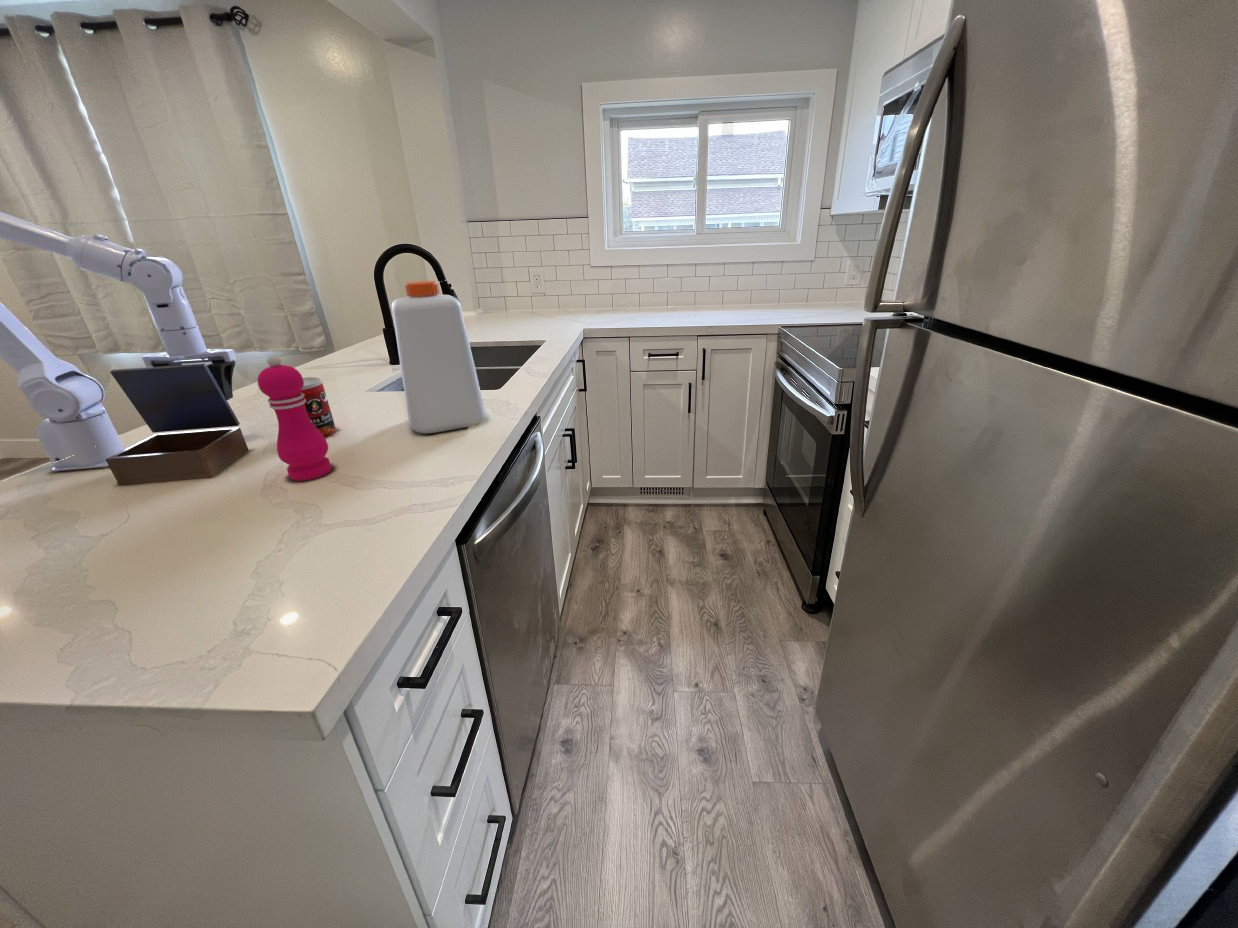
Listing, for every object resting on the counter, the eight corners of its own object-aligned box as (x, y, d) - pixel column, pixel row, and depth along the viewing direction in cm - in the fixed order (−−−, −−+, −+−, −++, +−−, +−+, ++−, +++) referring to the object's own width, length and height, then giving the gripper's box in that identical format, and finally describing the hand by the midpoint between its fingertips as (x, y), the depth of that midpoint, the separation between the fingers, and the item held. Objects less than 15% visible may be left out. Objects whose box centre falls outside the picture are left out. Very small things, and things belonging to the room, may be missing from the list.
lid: (203, 365, 85) (216, 353, 88) (109, 371, 83) (126, 359, 87) (238, 426, 93) (249, 413, 96) (152, 432, 91) (166, 419, 94)
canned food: (304, 444, 97) (286, 390, 92) (287, 436, 101) (269, 384, 97) (344, 432, 102) (328, 380, 98) (326, 425, 107) (310, 375, 102)
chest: (212, 476, 85) (201, 451, 83) (118, 485, 83) (105, 459, 81) (249, 450, 95) (240, 427, 93) (165, 457, 93) (154, 433, 91)
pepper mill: (313, 483, 81) (272, 361, 72) (276, 481, 82) (231, 361, 74) (344, 465, 87) (310, 350, 79) (309, 463, 88) (271, 350, 80)
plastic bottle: (408, 416, 110) (377, 282, 98) (477, 405, 115) (456, 277, 104) (413, 438, 97) (379, 288, 86) (490, 425, 103) (468, 281, 91)
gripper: (117, 335, 86) (151, 409, 91) (207, 329, 87) (235, 403, 93) (146, 328, 92) (176, 398, 98) (230, 323, 94) (255, 393, 99)
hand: (207, 400), depth 96 cm, fingers open, 7 cm apart
